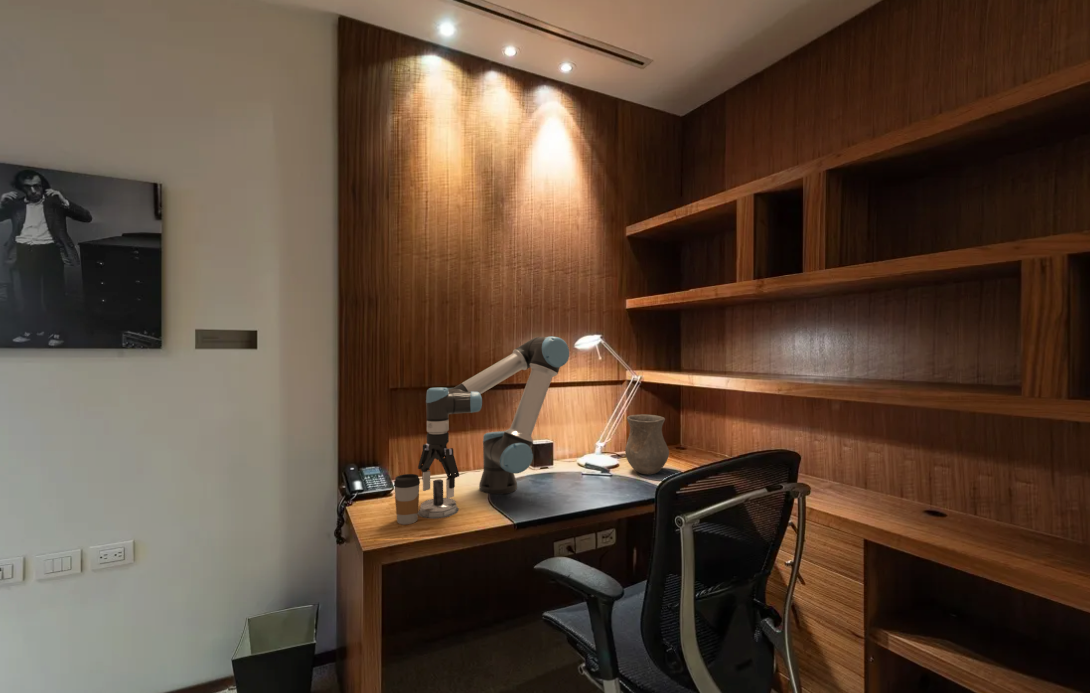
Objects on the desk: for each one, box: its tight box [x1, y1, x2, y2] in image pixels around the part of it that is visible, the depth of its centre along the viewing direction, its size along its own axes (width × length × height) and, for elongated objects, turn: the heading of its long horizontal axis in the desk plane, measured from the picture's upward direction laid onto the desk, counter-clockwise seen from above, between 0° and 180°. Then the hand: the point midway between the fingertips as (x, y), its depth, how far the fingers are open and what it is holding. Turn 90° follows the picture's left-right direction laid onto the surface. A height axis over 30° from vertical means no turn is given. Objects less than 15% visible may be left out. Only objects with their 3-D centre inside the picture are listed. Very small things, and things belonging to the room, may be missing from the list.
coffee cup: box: [393, 473, 421, 525], centre depth 153 cm, size 8×8×15 cm
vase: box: [624, 414, 670, 475], centre depth 208 cm, size 20×19×25 cm
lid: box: [419, 479, 457, 519], centre depth 161 cm, size 12×12×10 cm
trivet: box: [418, 505, 460, 520], centre depth 161 cm, size 14×14×1 cm
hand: (438, 493), depth 161 cm, fingers open, 12 cm apart
